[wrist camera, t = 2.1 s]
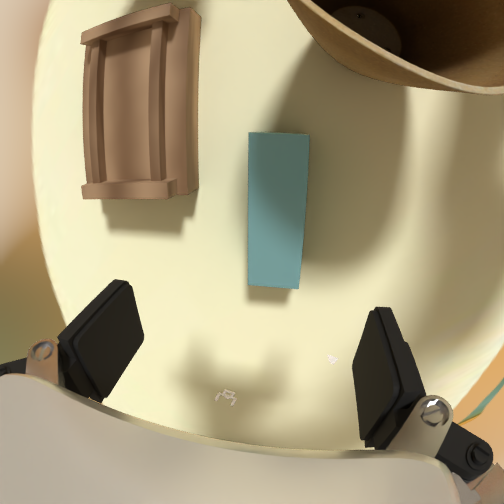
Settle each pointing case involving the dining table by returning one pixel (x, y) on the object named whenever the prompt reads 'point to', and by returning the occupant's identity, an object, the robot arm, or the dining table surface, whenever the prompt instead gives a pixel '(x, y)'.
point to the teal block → (276, 207)
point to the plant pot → (413, 40)
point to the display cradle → (142, 105)
